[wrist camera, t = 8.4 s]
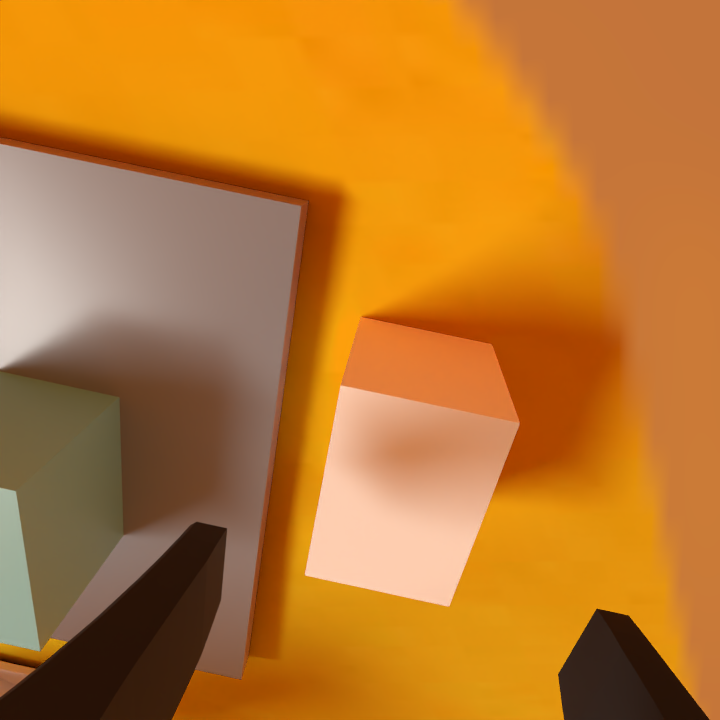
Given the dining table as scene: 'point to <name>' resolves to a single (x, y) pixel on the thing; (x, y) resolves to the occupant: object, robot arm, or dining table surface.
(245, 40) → the dining table surface
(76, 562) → the teal brick
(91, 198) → the baseplate
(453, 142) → the dining table surface
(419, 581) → the cream brick
